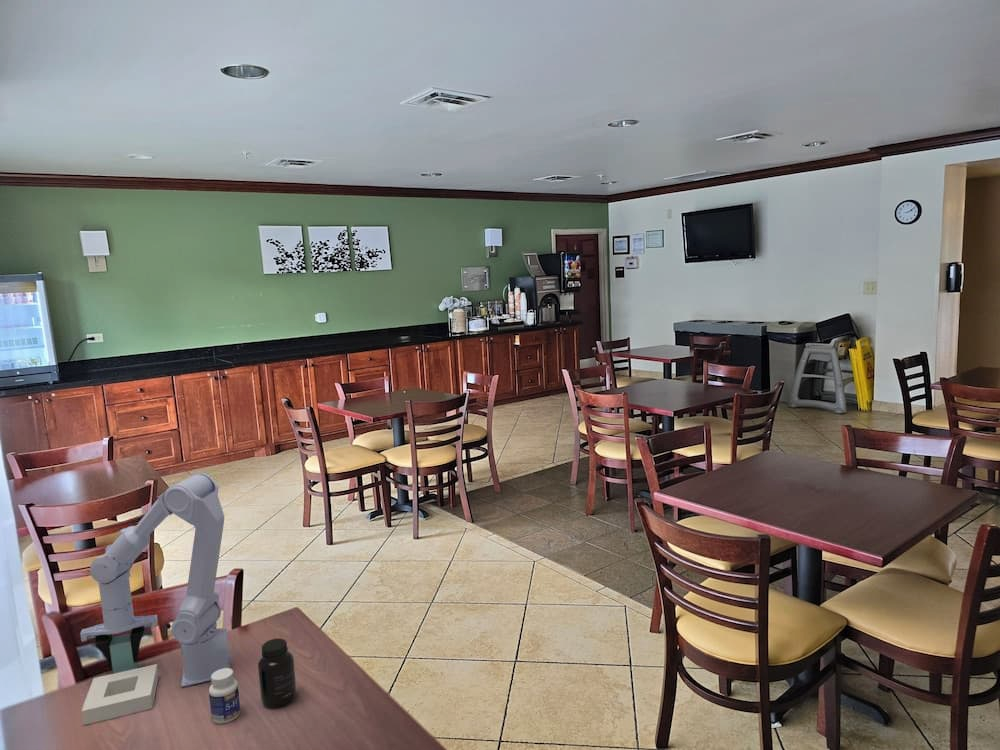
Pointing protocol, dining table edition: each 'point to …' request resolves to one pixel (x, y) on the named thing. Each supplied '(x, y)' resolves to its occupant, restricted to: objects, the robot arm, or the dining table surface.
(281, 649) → the supplement bottle
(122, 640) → the peg
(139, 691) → the socket block
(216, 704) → the pill bottle
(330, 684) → the dining table surface
